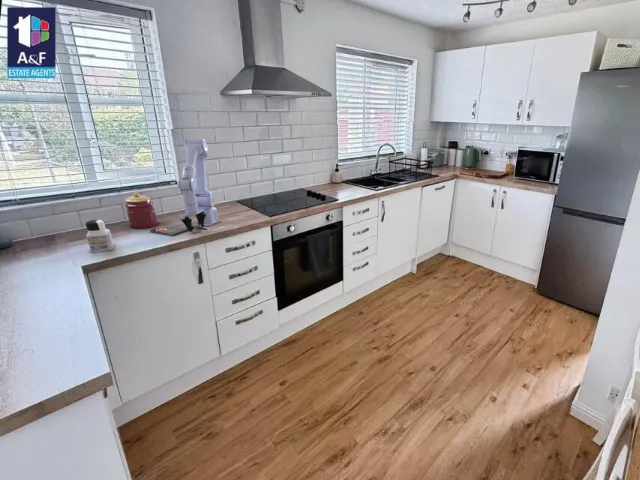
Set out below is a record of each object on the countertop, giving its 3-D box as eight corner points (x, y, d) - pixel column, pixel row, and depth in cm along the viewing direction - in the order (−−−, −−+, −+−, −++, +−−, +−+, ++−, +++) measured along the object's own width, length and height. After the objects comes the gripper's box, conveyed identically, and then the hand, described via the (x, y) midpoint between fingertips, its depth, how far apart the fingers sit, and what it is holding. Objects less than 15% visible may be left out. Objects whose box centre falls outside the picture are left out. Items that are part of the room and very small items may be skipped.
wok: (196, 229, 196) (195, 222, 194) (211, 232, 193) (210, 224, 192) (187, 232, 192) (186, 225, 190) (203, 235, 189) (201, 227, 187)
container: (91, 252, 164) (81, 224, 158) (94, 246, 170) (84, 219, 164) (112, 250, 167) (103, 222, 161) (114, 244, 173) (105, 217, 167)
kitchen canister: (154, 228, 196) (145, 195, 188) (126, 229, 193) (116, 195, 185) (161, 221, 207) (153, 189, 199) (135, 222, 204) (126, 190, 196)
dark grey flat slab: (169, 225, 201) (169, 223, 200) (191, 229, 196) (191, 227, 196) (150, 232, 191) (150, 229, 190) (172, 236, 186) (172, 234, 186)
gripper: (195, 199, 194) (200, 224, 200) (172, 205, 181) (178, 232, 187) (206, 200, 192) (210, 226, 198) (184, 207, 179) (189, 233, 185)
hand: (196, 229), depth 192 cm, fingers open, 7 cm apart
